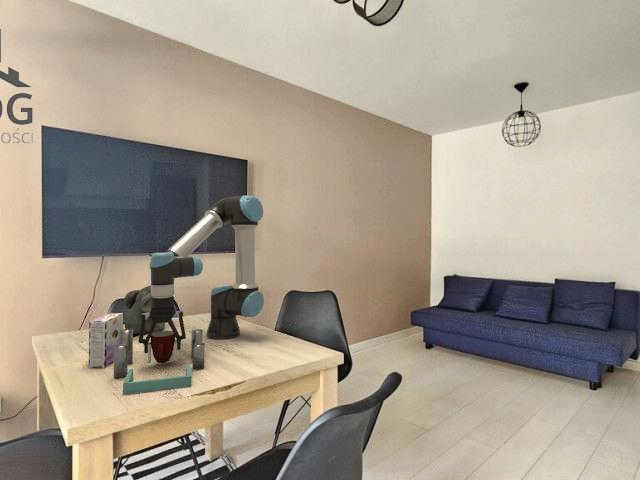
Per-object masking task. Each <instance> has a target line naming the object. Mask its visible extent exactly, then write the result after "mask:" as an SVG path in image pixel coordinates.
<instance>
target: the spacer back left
mask: <svg viewBox="0 0 640 480" xmlns="http://www.w3.org/2000/svg"><path fill="white" fill-rule="evenodd" d="M203 334H204V333H203V329H201V328H198V329H197V328H196V329H192V330H191V337H190V338H191V343H190V345H191V346H190V347H191V351H190V355H191V356H190V357H191V358H192V345H193V344H197V343H203V336H204V335H203Z"/></svg>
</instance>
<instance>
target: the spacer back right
mask: <svg viewBox="0 0 640 480" xmlns="http://www.w3.org/2000/svg"><path fill="white" fill-rule="evenodd" d="M120 344H128V366H130V365H132V364H133V363H134V362H133V361H134V360H133V358H134V357H133V354H134V353H133V352H134V351H133V350H134V348H133V347H134V346H133V345H134V335H133V329H124V328H123V330H121V331H120Z"/></svg>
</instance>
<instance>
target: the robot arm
mask: <svg viewBox="0 0 640 480" xmlns="http://www.w3.org/2000/svg"><path fill="white" fill-rule="evenodd" d="M263 215H264V208H263V205H262V202H261V201H260V200H259V199H258V197H257V196H254V195H244V194H243V195H236V196H227V197H224V198H222V199H220V200H219V201H217V202H215V203H214V204H213V205H212V206H210V208H207V210H206V211H205V212H204V216H203V217H202V218H201V219H200V220H199V221H198V222H196V224H194V225H193V226H192V227H191V228H190V229H188V230H187V232H185V234H183V235H182V236H181V237H180V238H179V239H178V240H177V241H176V242H175V243H173V244H172V245H171V247H169V248H168V249H167V250H166V251H165V252H154V253H152V254H151V257H150V261H149V269H150V286H151V296H153V297H152V298H151V311H150V313H146V314H145V313H143V314H142V315H141V319H142V324H141V330H140V334H138V336H139V337H138V341H137V343H139V344H143V348H144V349H143V352H144V354H147V364H151V361H152V360H151V358H152V348H151V341H150V340H151V335H152V333H153V331H154V329H155V326H156V324H157V323H165V324H167V323H168V325H169V327H170V329H171V331H173V333H174V335H175V343H174V361H178V351H180V350H181V349H182V348H181V346H182V344H181V343H182V340H185V339H187V335H186V329H185V324H184V318H183V316H184V311H183V310H176V309H175V297H174V295H175V279H178V278H180V279H181V278H188V277H189V278H190V277H196V276H199V275H201V273H202V272H203V269H204V264H203V261H202V259H201V258H200V257H198V256H190V255H191V254H193V252H194V251H195V250H197V248H198V247H199V246H200V245H201V244H202V243H203V242H204V241H205V240H207V238H208V237H210V236H211V235H212V234H213V232H215V231H216V230H217V229H220V228H222V227H223V226H224V225H226V224H229V223H230V224H231V227H232V228H233V229H234V242H235V243H234V246H235V247H234V248H235V252H234V254H235V255H234V256H235V259H234V260H235V264H234V265H235V267H234V268H235V283H234V284H232V285H226V286H218V287H217V286H216V287H213V288H211V291H210V293H211V294H210V321H209V324H208V327H207V330H206V338H208V339H211V340H228V339H234V338H236V337H239V336H240V335H241V329H240V326H239V323H238V319H237V316H240V317H244V318H247V317H248V318H254V317H256V316H257V315H259V314H260V312H262V309H263V308H264V305H265V304H264V303H265V296H264V294H263V293H262V292H261V291H260V290H259V284H258V283H256V264H255V263H256V261H255V260H256V257H255V256H256V251H255V250H256V248H255V247H256V246H255V243H256V241H255V239H256V237H255V234H256V233H255V229H256V228H257V227H258V225H259V222H260V221H261V220H262V217H263ZM175 315H176V317H177V318H178V322H179V323H178V324H179V328H180V332H181V333H179V331H178V329H177V327H176V325H175V324H174V321H173V317H174V316H175ZM149 316H151V318H152V319H153V320H154V322H153V324H152V326H151V328H150V330H149V333H148V332H147V335H146V337H145V338H144V334H145V332H144V331H145V325H146V320H147V319H148V317H149ZM180 334H181V335H180ZM149 341H150V342H149Z"/></svg>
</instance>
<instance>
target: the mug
mask: <svg viewBox="0 0 640 480" xmlns="http://www.w3.org/2000/svg"><path fill="white" fill-rule="evenodd" d="M175 340H176V337H175V335H174V333H173V331H172V330H160V331H158V332H155V333H152V335H151V337H150V340H149V341H150V342H151V354H152V357H153V359H154V360H155V362H156V364H166V363H168V362H170V359H171V358H172V356H173V353H174V350H175Z"/></svg>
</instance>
